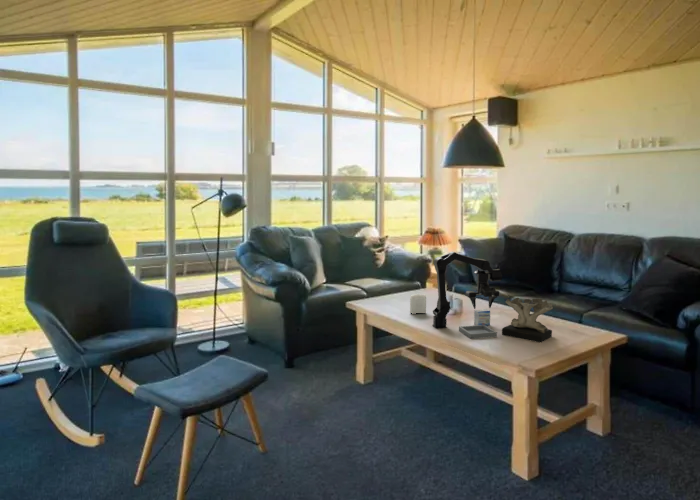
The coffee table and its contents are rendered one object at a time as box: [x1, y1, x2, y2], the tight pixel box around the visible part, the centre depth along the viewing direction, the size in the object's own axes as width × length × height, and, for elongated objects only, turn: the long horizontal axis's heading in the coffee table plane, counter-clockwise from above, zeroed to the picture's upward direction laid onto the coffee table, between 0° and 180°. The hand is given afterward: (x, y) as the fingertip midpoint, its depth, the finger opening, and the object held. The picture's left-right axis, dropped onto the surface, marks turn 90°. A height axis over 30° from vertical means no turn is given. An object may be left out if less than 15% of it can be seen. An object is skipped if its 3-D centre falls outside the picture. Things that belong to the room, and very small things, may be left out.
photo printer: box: [409, 293, 427, 315], centre depth 322 cm, size 10×4×12 cm, turn 98°
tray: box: [458, 325, 498, 340], centre depth 278 cm, size 15×15×2 cm
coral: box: [501, 297, 554, 343], centre depth 268 cm, size 25×20×22 cm
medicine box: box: [473, 308, 491, 327], centre depth 294 cm, size 8×4×9 cm, turn 105°
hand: (482, 308), depth 294 cm, fingers open, 9 cm apart
